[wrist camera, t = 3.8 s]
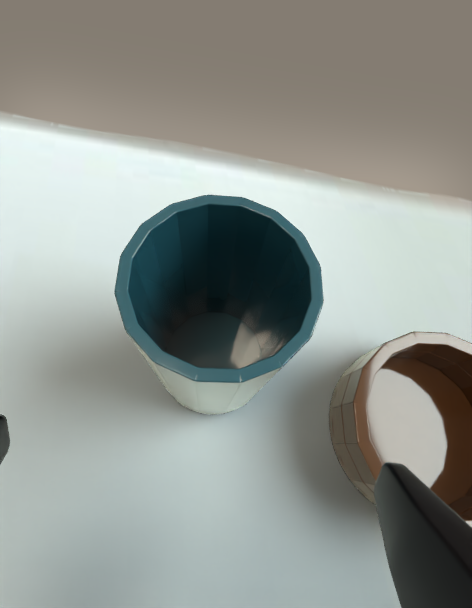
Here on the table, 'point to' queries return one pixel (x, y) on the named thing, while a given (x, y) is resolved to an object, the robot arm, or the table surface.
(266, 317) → the tumbler
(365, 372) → the cup
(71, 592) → the table surface
